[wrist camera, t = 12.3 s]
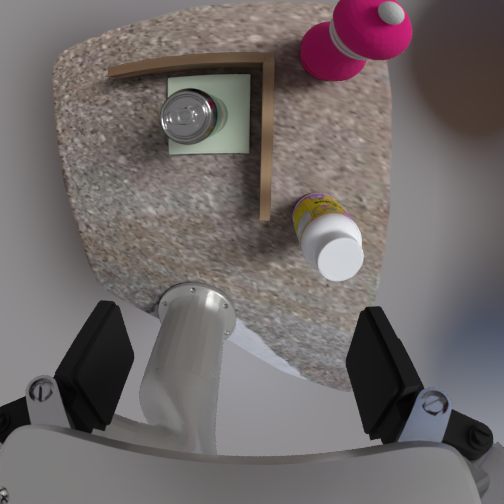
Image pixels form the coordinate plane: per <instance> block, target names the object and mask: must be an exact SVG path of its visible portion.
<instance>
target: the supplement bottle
mask: <svg viewBox="0 0 504 504" xmlns="http://www.w3.org/2000/svg"><path fill="white" fill-rule="evenodd" d="M292 219H293V225H294V228H295V231H296V234H297V237H298V240H299V243H300V247H301V250H302V253H303V256H304V258H305V260H306V261H307V263H308V264H309V265H310V266H311V267H313V268H314V269H316V270H318V271H320V273H321V274H322V275H323V276H324V277H325V278H327V279H329V280H332V281H343V280H346V279H348V278H351V277H352V276H353V275H355V274H356V273H357V272H358V270H359V269H360V267H361V265H362V262H363V250H362V248H361V245H362V238H361V233H360V231H359V229H358V227H357V225H356V224H355V223H354V222H353V220H352V219H351V218H350V217H349V216H348V214H347V213H346V212H345V211H344V210H343V208H342V207H341V206H340V205H339V204H338V203H337V201H336V200H335V199H333V198H332V197H331V196H329V195H327V194H323V193H312V194H309V195H306V196H305V197H303V198H302V199H301V200H300V201H299V202H298V203H297V204H296V206H295V208H294V211H293V216H292Z"/></svg>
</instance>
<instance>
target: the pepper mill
mask: <svg viewBox="0 0 504 504" xmlns="http://www.w3.org/2000/svg"><path fill="white" fill-rule="evenodd" d="M411 37H412V27H411V22H410V19H409V17H408V15H407V13H406V12H405V10H404V9H403V8H402V6H401V5H400V4H399V3H398V2H396V1H395V0H340V1H339V2H338V3H337V5H336V7H335V9H334V13H333V18H332V20H331V22H323V23H320V24H317V25H315V26H314V27H312V28H311V29H310V30H309V31H308V32H307V33H306V34H305V35H304V37H303V39H302V43H301V50H300V60H301V63H302V65H303V67H304V68H305V70H306V71H307V72H308V73H309V74H310V75H312V76H313V77H315V78H318V79H321V80H326V81H329V80H331V81H343V80H347V79H350V78H352V77H354V76H355V75H357V74H358V73H359V72H360V71H361V70H362V68H363V67H364V65H365V63H366V60H370V59H372V60H387V59H391V58H394V57H396V56H398V55H400V54H401V53H402V52H403V51H404V50H405V49H406V48H407V47H408V45H409V43H410V41H411Z"/></svg>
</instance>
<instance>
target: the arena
mask: <svg viewBox="0 0 504 504" xmlns="http://www.w3.org/2000/svg"><path fill="white" fill-rule="evenodd" d="M215 68H262V108H261V152H260V193H259V218H260V221H270V206H271V180H272V150H273V116H274V73H275V53H257V52H230V53H206V54H192V55H181V56H172V57H164V58H156V59H150V60H143V61H138V62H132V63H127V64H122V65H117V66H112V67H108V77H113V78H118V79H125V78H130V77H136V76H143V75H149V74H157V73H165V72H174V71H184V70H197V69H215Z"/></svg>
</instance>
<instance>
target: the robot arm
mask: <svg viewBox="0 0 504 504" xmlns="http://www.w3.org/2000/svg"><path fill="white" fill-rule="evenodd" d="M158 315H159V319H160V322H161V324H162V326H161V328H160V331H159V334H158V336H157V339H156V342H155V345H154V348H153V350H152V353H151V356H150V359H149V362H148V365H147V367H146V371H145V373H144V376H143V379H142V382H141V386H140V391H139V399H140V405H141V408H142V411H143V414H144V416H145V418H146V420H147V422H148V424H149V425H148V424H144V423H139V422H137V421H133V420H131V419H128V418H125V417H122V416H120V415H117V414H114V412H115V409H116V407H117V404H118V401H119V399H120V396H121V393H122V390H123V388H124V385H125V382H126V380H127V377H128V374H129V372H130V369H131V366H132V364H133V361H134V352H133V349H132V346H131V343H130V340H129V337H128V334H127V331H126V327H125V325H124V321H123V318H122V314H121V311H120V308H119V306H117V305H116V304H115V302H113V301H102V300H101V301H100V302H99V303H98V304H97V306H96V307H95V309H94V310H93V312H92V313H91V315H90V316H89V318H88V319H87V321H86V322H85V324H84V326H83V327H82V329H81V330H80V332H79V334H78V335H77V337H76V338H75V340H74V341H73V343H72V345H71V347H70V348H69V350H68V351H67V353H66V355H65V357H64V358H63V360H62V362H61V364H60V365H59V367H58V369H57V370H56V372H55V375H54V377H53V378H52V377H51V376H48V375H41V376H38V377H36V378H34V379H33V380H31V381H30V383H29V384H28V386H27V388H26V396H25V397H23V398H20V399H18V400H16V401H13V402H11V403H8V404H6V405H3V406H1V407H0V504H504V447H503V446H502V445H500V443H498V442H497V443H495V444H494V443H493V434H492V432H491V430H490V429H489V428H488V426H486V425H485V424H483V423H481V422H479V421H476V420H474V419H472V418H470V417H468V416H466V415H463V414H461V413H459V412H457V411H455V410H453V409H452V402H451V399H450V397H449V395H448V394H447V393H446V392H445V391H443V390H442V389H440V388H436V387H428V388H425V389H424V386H423V384H422V382H421V380H420V378H419V376H418V374H417V372H416V369H415V368H414V366H413V363H412V361H411V359H410V357H409V355H408V353H407V352H406V349H405V348H404V346H403V344H402V342H401V340H400V339H399V338H397V336H396V334H395V332H394V330H393V328H392V326H391V324H390V322H389V321H388V319H387V317H386V315H385V313H384V311H383V310H382V308H381V307H380V306H375V307H366V308H365V310H364V311H361V312H360V315H359V319H358V322H357V325H356V329H355V332H354V335H353V339H352V342H351V345H350V348H349V351H348V354H347V357H346V368H347V371H348V375H349V378H350V381H351V385H352V388H353V392H354V395H355V399H356V402H357V406H358V409H359V413H360V417H361V421H362V424H363V428H364V432H365V433H366V434H369V436H370V440H374V439H380V438H381V441H382V443H383V445H377V446H371V447H365V448H359V449H352V450H345V451H337V452H328V453H319V454H307V455H294V456H293V455H292V456H258V457H257V456H224V455H217V451H216V436H215V431H216V429H215V428H216V427H215V426H216V410H217V400H218V390H219V380H220V370H221V362H222V351H223V344H224V340H226V339H227V338H228V337H229V336H230V335H231V334H232V332H233V331H234V328H235V325H236V312H235V308H234V306H233V304H232V302H231V301H230V300H229V298H228V297H227V296H226V295H225V294H223V293H222V292H221V291H219V290H218V289H216V288H214V287H212V286H209V285H206V284H202V283H194V282H190V283H182V284H179V285H176V286H174V287H172V288H170V289H169V290H168V291H167V292H166V293H165V294H164V295H163V297H162V299H161V301H160V303H159V307H158Z"/></svg>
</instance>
